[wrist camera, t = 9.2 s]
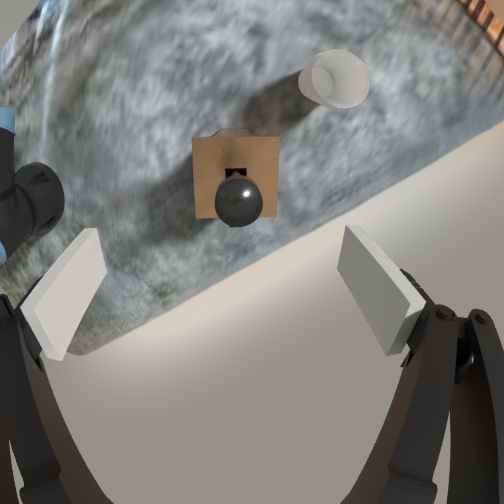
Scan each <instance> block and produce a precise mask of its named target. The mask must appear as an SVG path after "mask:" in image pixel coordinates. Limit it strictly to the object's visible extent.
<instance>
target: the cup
mask: <svg viewBox="0 0 504 504" xmlns="http://www.w3.org/2000/svg"><path fill="white" fill-rule="evenodd" d="M298 87H299V89H300V91H301V93H302V94H303V95H304V96H305V97H306V98H308V99H310V100H312V101H314V102H317V103H319V104H321V105H323V106H326V107H329V108H334V109H341V108H350V107H354V106H356V105H358V104H360V103H361V102H362V101H363V100H364V99H365V98H366V96H367V95H368V92H369V89H370V76H369V72H368V70H367V68H366V66H365V64H364V63H363V62H362V61H361V60H360V59H359V58H358V57H357V56H356V55H354V54H353V53H351V52H348V51H346V50H341V49H333V50H328V51H325V52H321V53H319V54H317V55H315V56H314V57H313V58H311V59H310V61H309V62H308V63H307V64H306V66H305V67H304V69H303V70H302V71H301V73H300V75H299V77H298Z"/></svg>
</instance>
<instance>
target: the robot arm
mask: <svg viewBox="0 0 504 504" xmlns="http://www.w3.org/2000/svg"><path fill="white" fill-rule="evenodd" d="M15 135H16V133H15V115H14V112H13V111H12V110H11V109H10V108H6V107H0V265H2V264H4V263H5V261H6V260H7V258H8V257H9V256H10V255H11V254H12V253H13V252H14V251H15V250H16V249H17V248H19V247H20V246H21V245H22V244H23V243H24V242H25V241H26V240H27V239H28V238H29V237H30V236H33V235H37V234H41V233H44V232H47V231H48V230H50V229H51V228H52V227H54V226H55V225H56V224H57V223H58V222H59V220H60V218H61V216H62V214H63V210H64V192H63V188H62V185H61V182H60V180H59V178H58V177H57V175H56V174H55V173H54V171H53V170H52V169H51V168H49V167H48V166H47V165H45V164H42V163H38V162H34V163H30V164H28V165H26V166H23V167H22V168H20V169H19V170H18V171H17V172H16V173H15V171H14V136H15ZM337 269H338V271H339V273H340V275H341V276H342V278H343V280H344V281H345V283H346V285H347V287H348V288H349V290H350V292H351V293H352V295H353V297H354V298H355V300H356V302H357V304H358V305H359V307H360V309H361V311H362V313H363V314H364V316H365V318H366V320H367V321H368V323H369V325H370V327H371V329H372V331H373V332H374V334H375V336H376V338H377V340H378V341H379V343H380V345H381V347H382V349H383V351H384V353H385V355H386V356H389V355H394V354H399V353H401V352H402V350H403V348H404V346H405V344H406V343H407V344H408V346H409V348H410V351H409V352H408V354H407V356H406V358H405V359H404V361H403V363H402V365H401V367H403V366H404V367H403V370H402V374H401V377H400V380H399V383H398V386H397V389H396V392H395V395H394V398H393V401H392V403H391V406H390V409H389V411H388V414H387V416H386V419H385V421H384V424H383V426H382V429H381V431H380V433H379V436H378V438H377V441H376V443H375V445H374V447H373V449H372V451H371V454H370V456H369V458H368V460H367V462H366V464H365V466H364V468H363V470H362V472H361V473H360V475H359V477H358V479H357V481H356V483H355V485H354V486H353V488H352V490H351V491H350V493H349V494H348V495H347V496H346V497H345V499H344V500H343V501H342V502H341V504H433V503H434V501H435V498H436V494H437V485H436V484H435V483H433V482H432V478H433V474H434V471H435V467H436V464H437V461H438V457H439V454H440V449H441V446H442V442H443V438H444V434H445V429H446V425H447V420H448V415H449V409H450V430H451V431H450V432H451V450H450V475H449V487H448V496H447V504H504V350H503V347H502V345H501V342H500V339H499V336H498V333H497V331H496V328H495V325H494V323H493V320H492V319H491V317H490V316H489V315H488V314H487V313H486V312H484V311H483V310H479V309H473V310H471V312H470V314H469V316H468V318H461V317H457V316H456V314H455V312H454V311H453V310H451V309H450V308H448V307H446V306H444V305H440V304H439V305H435V304H434V302H433V301H432V300H431V299H430V298H429V296H428V295H427V294H426V293H425V292H424V290H423V289H422V288H420V286H419V285H418V283H416V281H415V280H414V279H413V277H412V276H411V275H410V274H408V273H407V272H405V271H404V270H402V269H398V268H397V266H396V265H395V264H394V263H393V262H392V261H391V260H390V259H389V257H388V256H387V255H386V254H385V253H384V252H383V251H382V250H381V249H380V248H379V246H378V245H377V244H376V243H375V242H374V241H373V240H372V239H371V238H370V237H369V236H368V235H367V234H366V233H365V232H364V230H363V229H362V228H361V227H360V226H359V225H346V227H345V232H344V238H343V243H342V248H341V253H340V258H339V262H338V267H337ZM106 273H107V271H106V267H105V263H104V259H103V255H102V250H101V246H100V242H99V237H98V232H97V228H85V229H84V230H83V231H82V232H81V233H80V234H79V235H78V236H77V237H76V239H75V240H74V241H73V242H72V243H71V244H70V245H69V246H68V248H67V249H66V250H65V251H64V252H63V253H62V254H61V256H60V257H59V258H58V259H57V260H56V262H55V263H54V264H53V265H52V266H51V268H50V269H49V270H48V271H47V272H46V274H45V275H43V276H42V277H40V278H39V279H38V280H36V282H35V283H34V284H33V285H32V287H31V289H29V291H28V292H27V295H25V296H24V297H23V299H22V300H21V301H20V303H19V304H18V306H17V307H16V308H15V310H14V309H13V307H12V305H11V303H10V301H9V299H8V296H7V295H5V294H0V504H19V501H18V497H17V492H16V487H15V482H14V477H13V470H12V464H11V456H10V447H9V440H10V443H11V446H12V450H13V453H14V456H15V459H16V462H17V465H18V468H19V470H20V472H21V476H22V478H23V481H24V487H22V488H21V489H20V497H21V501H22V503H23V504H114V503H113V502H111V501H110V500H109V499H108V498H107V497H106V495H105V494H104V493H103V491H102V490H101V488H100V487H99V485H98V484H97V482H96V480H95V479H94V477H93V476H92V474H91V472H90V470H89V469H88V467H87V466H86V463H85V462H84V460H83V458H82V456H81V454H80V453H79V450H78V448H77V447H76V445H75V443H74V441H73V439H72V436H71V434H70V432H69V430H68V428H67V426H66V423H65V421H64V419H63V417H62V414H61V412H60V409H59V407H58V404H57V402H56V399H55V397H54V394H53V391H52V389H51V386H50V383H49V380H48V377H47V374H46V371H45V368H44V365H43V361H42V359H41V358H40V356H39V354H40V352H41V350H42V349H43V351H44V353H45V354H46V356H47V358H48V359H52V360H58V361H62V359H63V357H64V355H65V353H66V350H67V348H68V346H69V344H70V342H71V340H72V337H73V335H74V333H75V331H76V329H77V327H78V325H79V323H80V321H81V319H82V317H83V315H84V313H85V311H86V309H87V307H88V305H89V304H90V302H91V300H92V298H93V296H94V294H95V292H96V291H97V289H98V287H99V285H100V283H101V282H102V280H103V278H104V276H105V275H106ZM473 357H474V360H473V363H472V358H473Z"/></svg>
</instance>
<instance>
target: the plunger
mask: <svg viewBox="0 0 504 504" xmlns="http://www.w3.org/2000/svg"><path fill="white" fill-rule="evenodd" d="M262 208H263V199H262V196H261V193H260V190H259V188H258V186H257V184H256V183H255V182H254V181H253V180H252V179H250V178H249V177H247V176H246V168H225V179H224V180H223V181H222V182H221V183H220V184H219V186H218V188H217V190H216V195H215V211H216V213H217V215H218V217H219V218H220V219H221V220H222V221H223V222H224V223H226V224H228V225H230V226H234V227H242V226H246V225H249V224H251V223H253V222H254V221H255V220H256V219H257V218H258V217H259V216H260V214H261V212H262Z"/></svg>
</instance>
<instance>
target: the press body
mask: <svg viewBox="0 0 504 504" xmlns="http://www.w3.org/2000/svg"><path fill="white" fill-rule="evenodd" d="M279 142H280V137H278V136H254V135H253V134H252V133H251V132H250V131H249V130H248V129H247V128H225V129H220V130H219V131H218V132H217V133H216V134H215V135H214V136H212V137H193V138H192V155H193V177H194V196H195V212H196V219H198V218H219V217H218V215H217V213H216V211H215V195H216V190H217V188H218V186H219V184H220V183H221V182H222V181H223V180H224V179H225V168H246V176H247V177H249V178H250V179H252V180H253V181H254V182H255V183H256V184H257V186H258V188H259V190H260V193H261V196H262V199H263V208H262V212H261V214H260V216H259V217H276V211H277V190H278V168H279ZM229 227H234V226H230V225H229Z"/></svg>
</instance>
